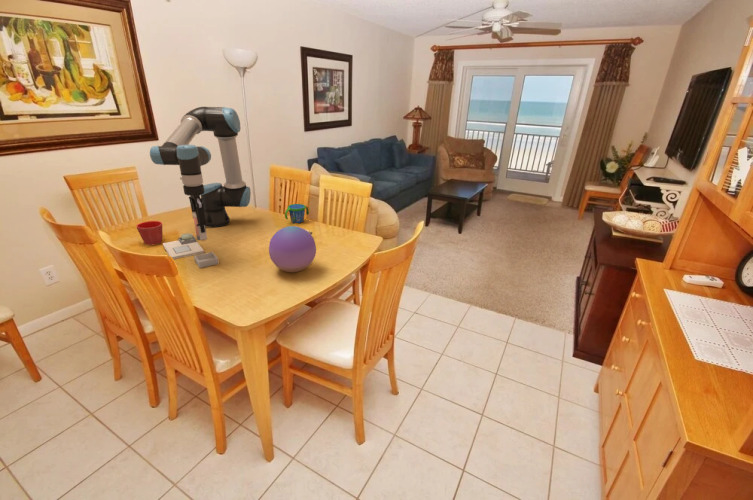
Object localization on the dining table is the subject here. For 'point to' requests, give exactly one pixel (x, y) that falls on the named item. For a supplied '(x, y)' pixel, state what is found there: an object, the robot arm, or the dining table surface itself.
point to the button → (186, 236)
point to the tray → (206, 260)
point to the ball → (292, 249)
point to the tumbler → (196, 225)
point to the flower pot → (150, 232)
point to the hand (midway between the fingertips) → (202, 237)
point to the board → (183, 248)
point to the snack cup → (297, 212)
